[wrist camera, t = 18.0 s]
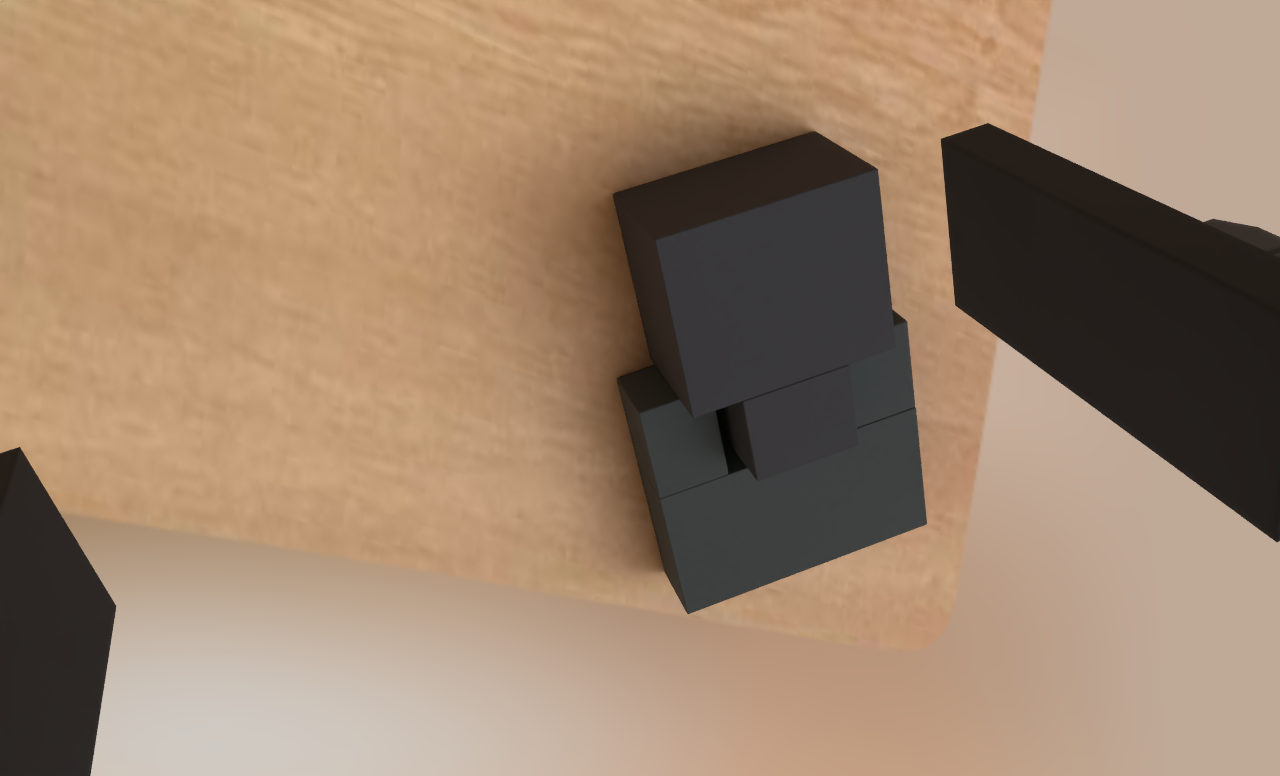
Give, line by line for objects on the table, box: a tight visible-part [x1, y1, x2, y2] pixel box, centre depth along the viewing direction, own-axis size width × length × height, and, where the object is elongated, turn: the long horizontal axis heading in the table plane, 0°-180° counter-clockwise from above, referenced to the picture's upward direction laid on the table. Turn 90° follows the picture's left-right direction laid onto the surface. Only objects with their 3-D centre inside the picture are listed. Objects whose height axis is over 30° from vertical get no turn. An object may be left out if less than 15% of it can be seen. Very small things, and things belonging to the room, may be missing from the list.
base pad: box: [617, 310, 927, 614], centre depth 47 cm, size 11×10×3 cm
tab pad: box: [613, 131, 896, 481], centre depth 43 cm, size 8×11×5 cm
